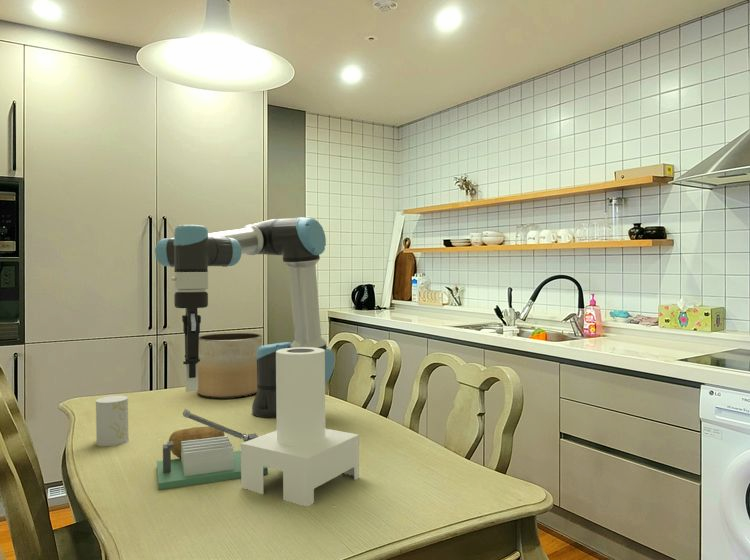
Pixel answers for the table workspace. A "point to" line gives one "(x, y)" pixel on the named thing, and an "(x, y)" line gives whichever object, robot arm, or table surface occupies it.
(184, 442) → the heatsink board
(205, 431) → the potato
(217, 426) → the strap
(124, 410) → the white patterned canister
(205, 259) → the robot arm
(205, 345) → the planter
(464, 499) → the table surface
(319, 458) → the paper towel holder
